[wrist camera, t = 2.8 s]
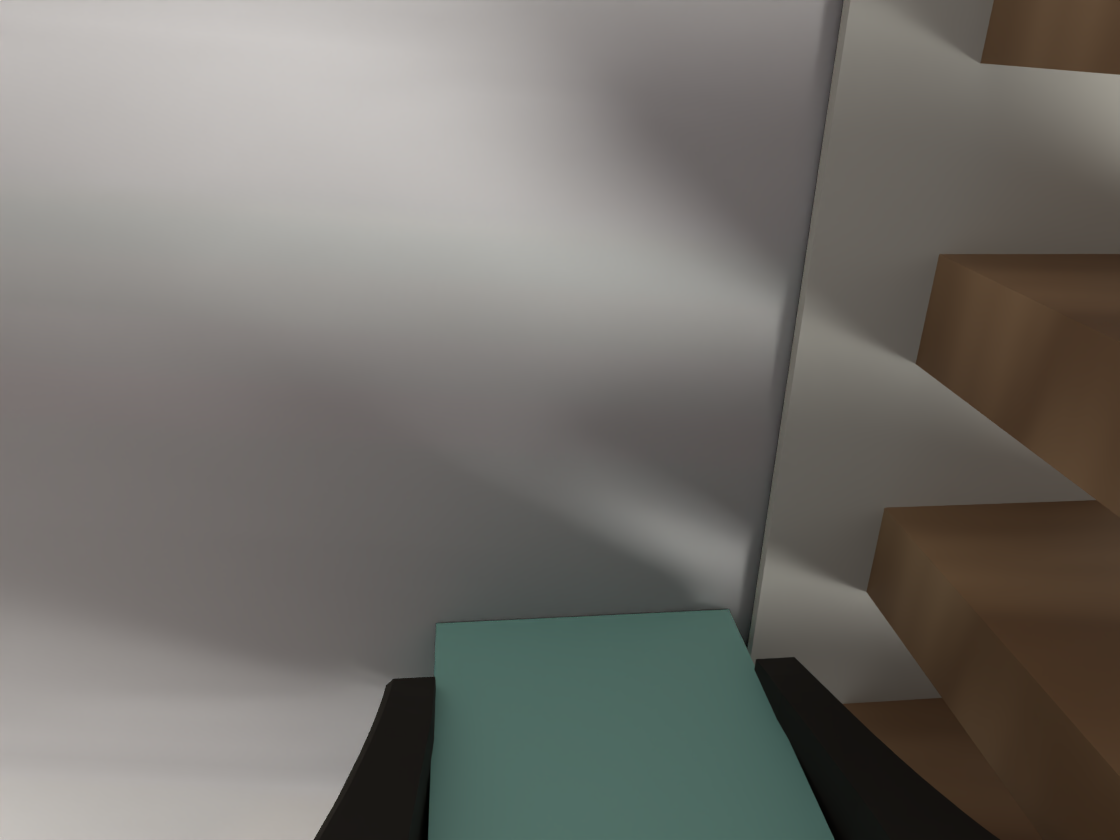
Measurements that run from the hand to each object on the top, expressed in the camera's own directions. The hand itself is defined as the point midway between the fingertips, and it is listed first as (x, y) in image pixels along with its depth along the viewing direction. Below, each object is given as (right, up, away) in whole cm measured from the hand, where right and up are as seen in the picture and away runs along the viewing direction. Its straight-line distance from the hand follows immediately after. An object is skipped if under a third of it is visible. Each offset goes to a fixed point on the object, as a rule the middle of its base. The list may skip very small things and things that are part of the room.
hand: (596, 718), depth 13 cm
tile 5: (0, +1, +1) cm, 1 cm away
